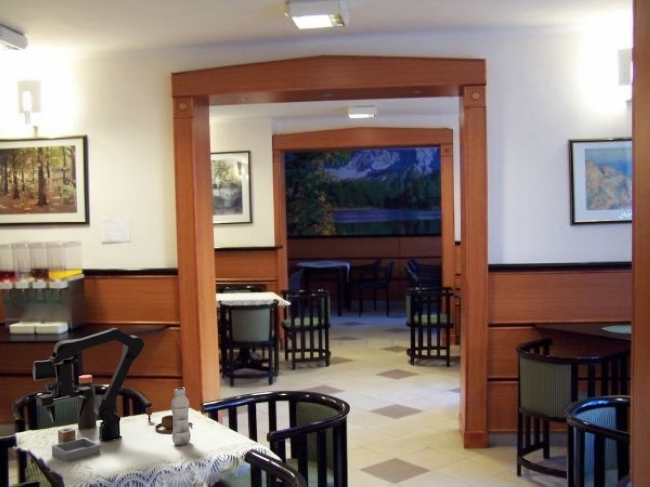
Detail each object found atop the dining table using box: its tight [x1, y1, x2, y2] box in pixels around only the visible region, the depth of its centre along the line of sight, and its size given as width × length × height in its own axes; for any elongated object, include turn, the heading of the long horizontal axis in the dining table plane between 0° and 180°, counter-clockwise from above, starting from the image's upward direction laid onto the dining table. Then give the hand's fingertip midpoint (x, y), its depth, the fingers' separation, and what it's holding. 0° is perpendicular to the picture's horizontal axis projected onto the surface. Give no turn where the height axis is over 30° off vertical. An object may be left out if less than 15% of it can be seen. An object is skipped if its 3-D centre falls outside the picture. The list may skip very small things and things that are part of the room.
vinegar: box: [76, 374, 97, 430], centre depth 269 cm, size 7×7×20 cm
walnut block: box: [57, 427, 77, 444], centre depth 246 cm, size 4×4×6 cm
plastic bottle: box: [170, 387, 192, 446], centre depth 246 cm, size 6×7×20 cm
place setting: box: [145, 407, 193, 434], centre depth 268 cm, size 18×20×6 cm
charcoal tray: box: [51, 436, 101, 464], centre depth 238 cm, size 12×12×3 cm
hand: (66, 419), depth 246 cm, fingers open, 9 cm apart
